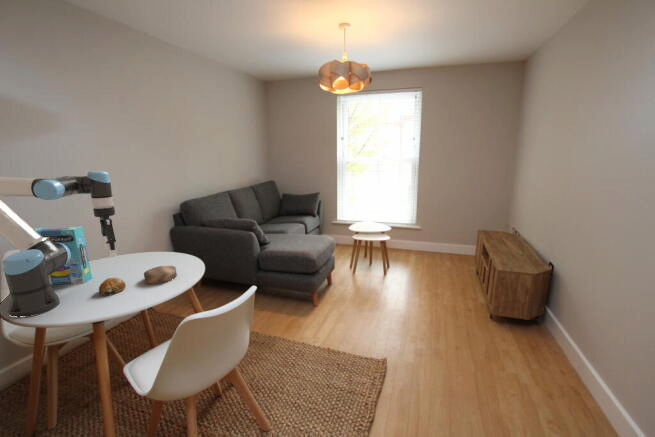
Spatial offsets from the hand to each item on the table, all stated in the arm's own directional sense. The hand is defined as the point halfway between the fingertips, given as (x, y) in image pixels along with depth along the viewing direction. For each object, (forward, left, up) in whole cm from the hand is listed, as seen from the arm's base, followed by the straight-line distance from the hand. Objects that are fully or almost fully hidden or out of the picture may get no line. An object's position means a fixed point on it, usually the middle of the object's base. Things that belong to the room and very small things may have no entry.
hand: (110, 253), depth 138 cm
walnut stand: (+18, -2, -17) cm, 25 cm away
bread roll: (-2, -2, -18) cm, 18 cm away
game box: (-18, +26, -17) cm, 36 cm away
